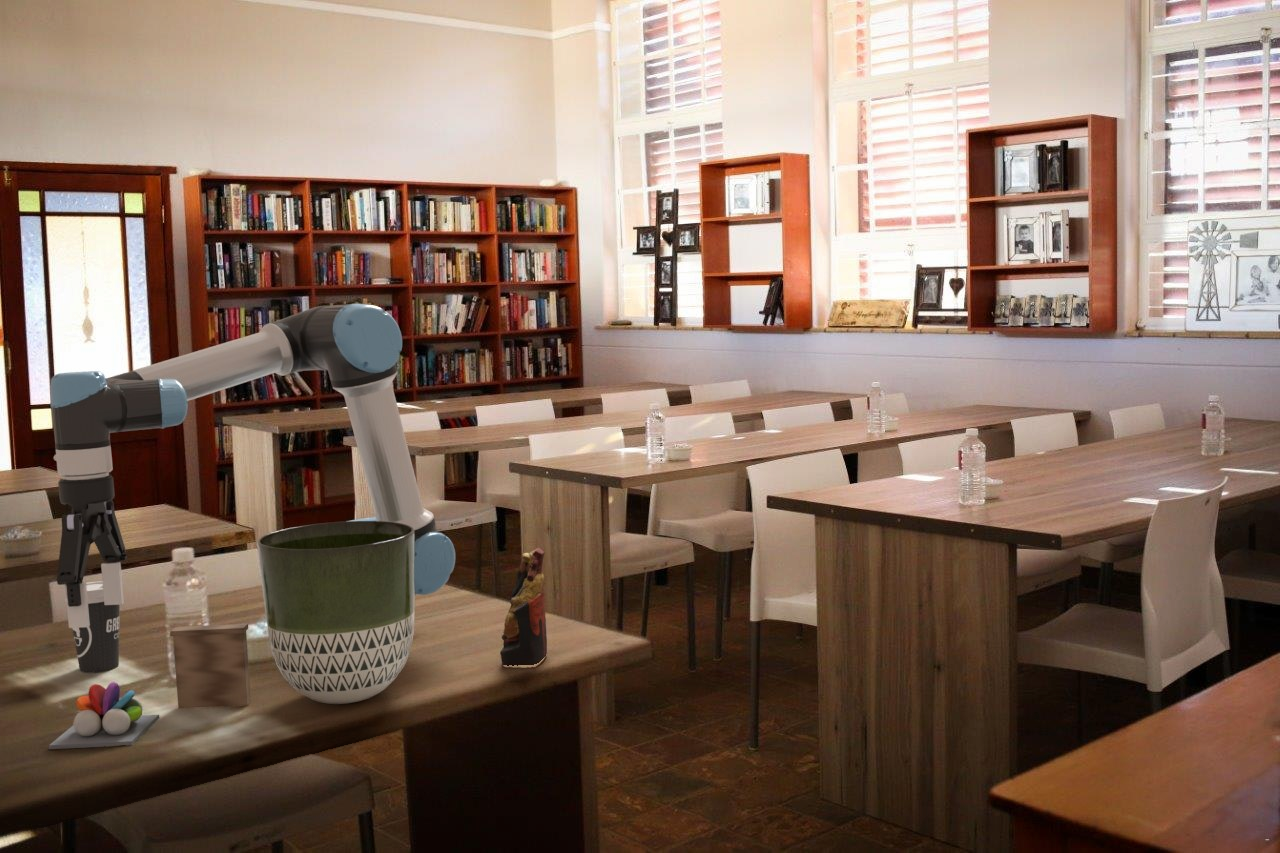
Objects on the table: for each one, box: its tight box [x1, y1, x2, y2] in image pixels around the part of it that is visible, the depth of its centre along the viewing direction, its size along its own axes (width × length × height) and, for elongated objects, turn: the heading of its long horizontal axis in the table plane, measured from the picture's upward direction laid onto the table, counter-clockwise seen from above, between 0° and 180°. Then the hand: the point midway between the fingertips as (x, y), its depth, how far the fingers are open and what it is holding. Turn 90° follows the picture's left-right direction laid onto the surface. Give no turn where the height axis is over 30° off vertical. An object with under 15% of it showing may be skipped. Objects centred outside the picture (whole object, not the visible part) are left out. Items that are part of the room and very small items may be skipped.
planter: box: [256, 520, 416, 705], centre depth 203 cm, size 24×24×27 cm
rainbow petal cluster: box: [73, 681, 144, 736], centre depth 190 cm, size 8×10×7 cm
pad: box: [48, 714, 160, 750], centre depth 191 cm, size 12×12×1 cm
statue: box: [499, 547, 548, 666], centre depth 220 cm, size 12×8×20 cm, turn 168°
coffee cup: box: [64, 580, 121, 674], centre depth 226 cm, size 10×10×15 cm
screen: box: [169, 623, 252, 710], centre depth 202 cm, size 12×3×13 cm, turn 93°
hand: (97, 615), depth 189 cm, fingers open, 13 cm apart
